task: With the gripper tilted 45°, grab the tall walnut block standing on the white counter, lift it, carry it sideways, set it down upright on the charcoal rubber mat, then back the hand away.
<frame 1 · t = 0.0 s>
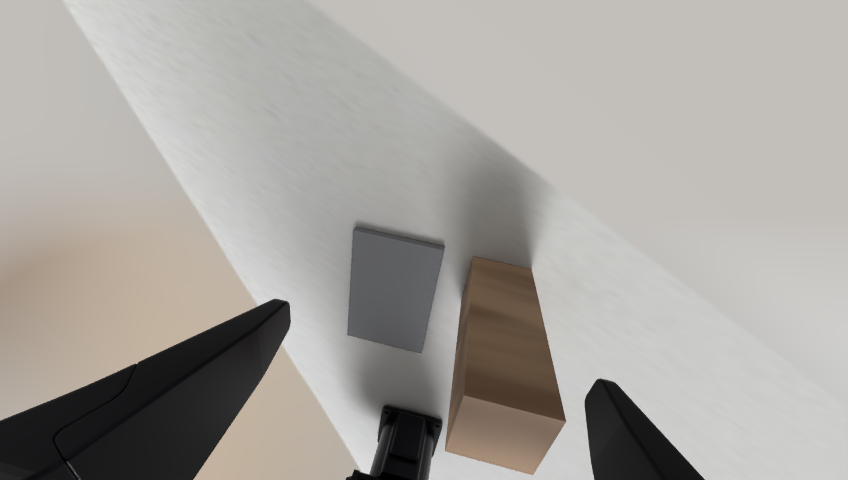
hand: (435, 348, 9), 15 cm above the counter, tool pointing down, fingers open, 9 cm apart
rubber mat: (392, 293, 27), on the counter
walnut block: (494, 286, 25), on the counter
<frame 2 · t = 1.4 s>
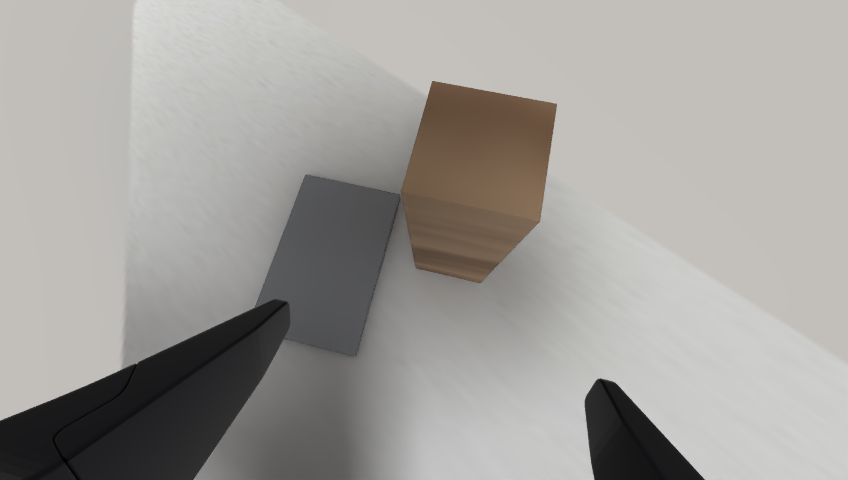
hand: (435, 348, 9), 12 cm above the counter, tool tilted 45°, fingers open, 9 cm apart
rubber mat: (330, 259, 22), on the counter
walnut block: (454, 244, 22), on the counter
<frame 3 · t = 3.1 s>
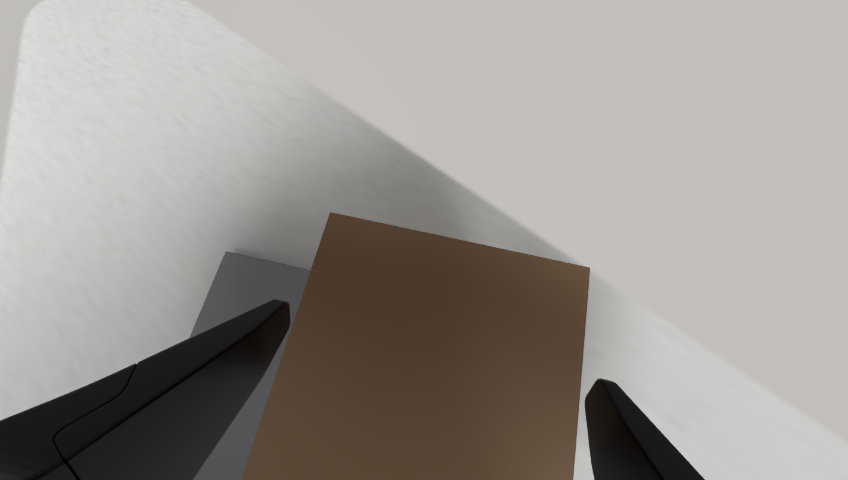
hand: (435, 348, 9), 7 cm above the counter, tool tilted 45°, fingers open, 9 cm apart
rubber mat: (255, 374, 16), on the counter
walnut block: (426, 349, 16), on the counter
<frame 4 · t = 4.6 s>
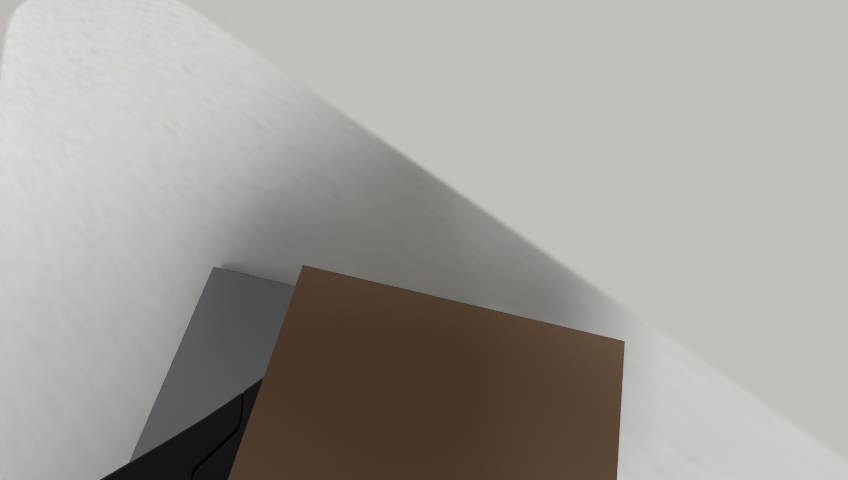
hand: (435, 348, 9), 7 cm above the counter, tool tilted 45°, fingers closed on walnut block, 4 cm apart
rubber mat: (242, 399, 15), on the counter
walnut block: (425, 374, 15), on the counter, touching gripper
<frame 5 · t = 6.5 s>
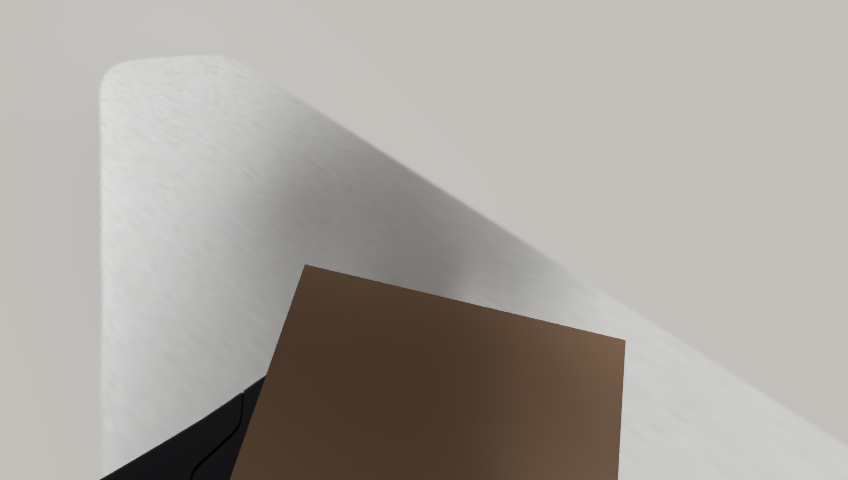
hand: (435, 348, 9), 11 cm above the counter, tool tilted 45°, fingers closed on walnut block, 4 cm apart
walnut block: (426, 374, 15), point 5 cm above the counter, touching gripper
when the fingers open (9 cm above the counter, at t = 8.3 s): walnut block drops 1 cm, resting on rubber mat.
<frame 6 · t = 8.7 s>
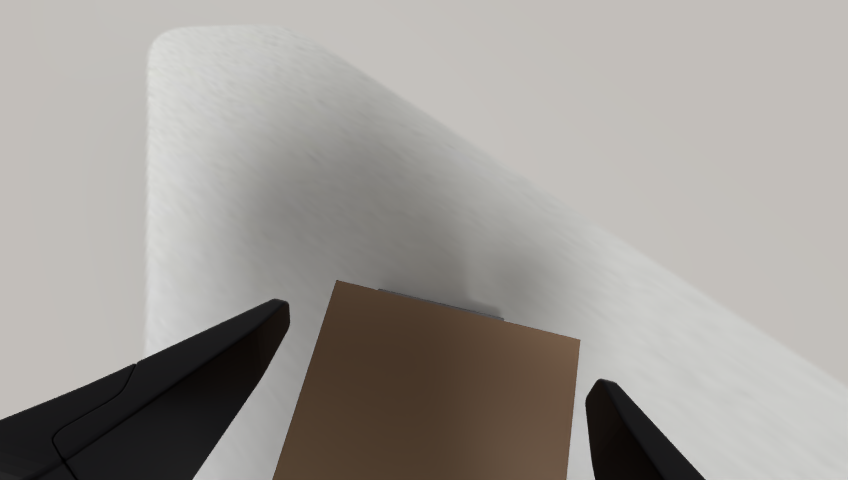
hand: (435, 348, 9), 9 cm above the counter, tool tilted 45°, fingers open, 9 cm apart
walnut block: (425, 369, 17), point 1 cm above the counter, touching rubber mat
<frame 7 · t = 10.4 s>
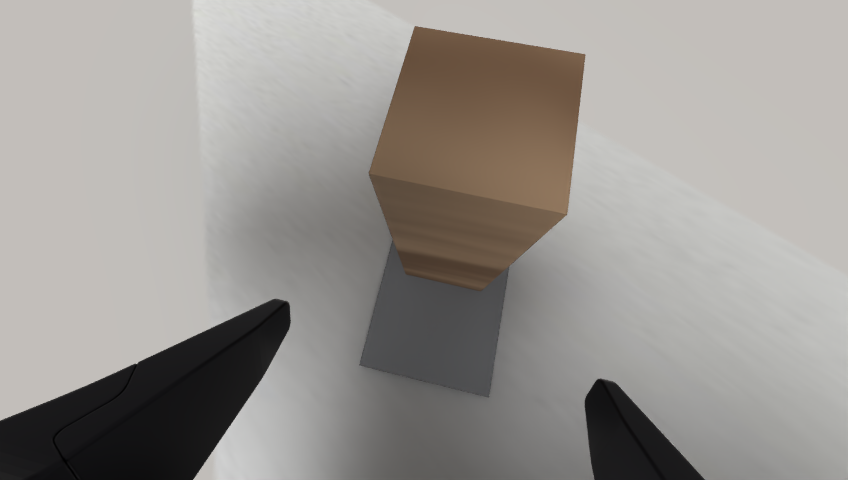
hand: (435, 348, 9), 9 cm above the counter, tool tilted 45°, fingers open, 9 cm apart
rubber mat: (443, 281, 19), on the counter
walnut block: (450, 246, 19), point 1 cm above the counter, touching rubber mat
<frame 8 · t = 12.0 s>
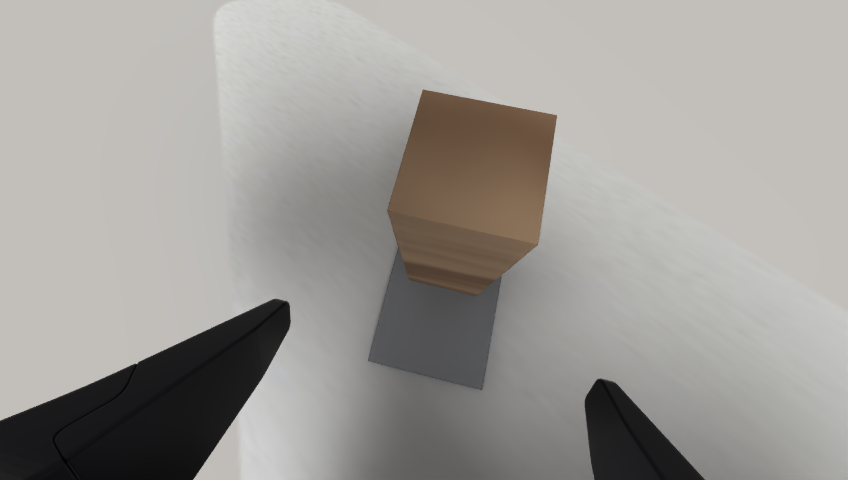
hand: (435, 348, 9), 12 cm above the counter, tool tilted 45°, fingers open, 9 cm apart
rubber mat: (443, 287, 21), on the counter
walnut block: (449, 255, 21), point 1 cm above the counter, touching rubber mat
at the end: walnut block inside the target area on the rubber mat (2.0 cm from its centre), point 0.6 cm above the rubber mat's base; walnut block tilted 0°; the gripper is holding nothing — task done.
